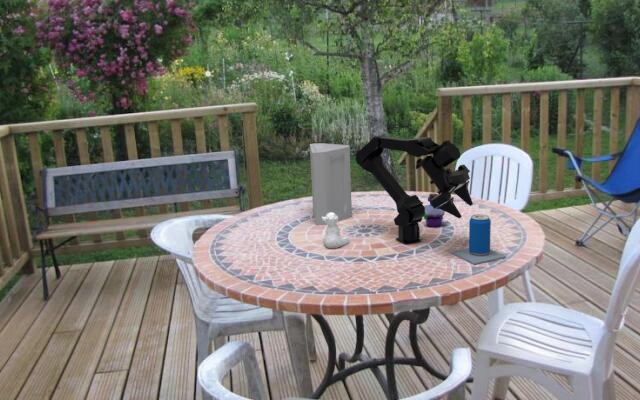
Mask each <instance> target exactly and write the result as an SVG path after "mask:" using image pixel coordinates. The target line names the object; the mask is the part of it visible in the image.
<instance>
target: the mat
mask: <svg viewBox="0 0 640 400" xmlns="http://www.w3.org/2000/svg"><path fill="white" fill-rule="evenodd" d="M450 253H451V254H452V255H453V256H455V257H457V258H460V259H461V260H464V261H465V262H467V263H470V264H471V265H473V266H477V265H481V264H485V263H490V262H494V261H500V260H502V259H503V260H504V259H506V258H507V255H505V254H502V253H500V252H498V251H496V250H493V249H491V248H490V252H489V253H487V254H486V255H481V256H480V255H474V254H472V253H471V252H470V251H469V247H467V248H462V249H459V250H454V251H451V252H450Z"/></svg>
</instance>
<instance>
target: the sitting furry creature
mask: <svg viewBox="0 0 640 400" xmlns="http://www.w3.org/2000/svg"><path fill="white" fill-rule="evenodd" d="M322 220H323V221H325V223H326V224H328V225H327V227H326V229H325V235H324V236H323V238H322V242H323V244H324V246H325V247H326V248H328V249H339V248H340V247H342V246H344V245H348V244H349V243H350V241H351V238H350V237H347V236H345V235H344V236H342V237H341V235H340V234H341V228H340V227H339V225H338V223H339V221H338V216H337V215H336V214H335V213H333V212H332V213H328V214H326V216H325V217H322Z"/></svg>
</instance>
